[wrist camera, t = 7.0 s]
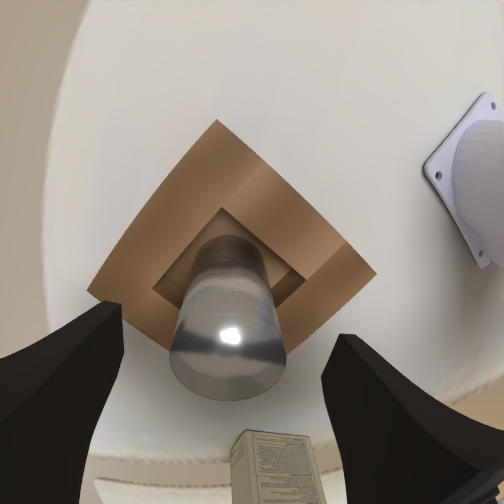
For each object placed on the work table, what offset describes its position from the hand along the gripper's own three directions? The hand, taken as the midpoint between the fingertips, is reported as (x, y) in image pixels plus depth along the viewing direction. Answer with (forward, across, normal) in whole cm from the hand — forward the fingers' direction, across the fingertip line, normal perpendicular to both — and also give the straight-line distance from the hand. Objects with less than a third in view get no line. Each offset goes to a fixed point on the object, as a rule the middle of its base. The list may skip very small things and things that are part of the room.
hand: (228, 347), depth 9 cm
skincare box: (+7, -6, +17) cm, 19 cm away
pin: (+6, 0, 0) cm, 6 cm away
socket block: (+7, 0, 0) cm, 7 cm away
